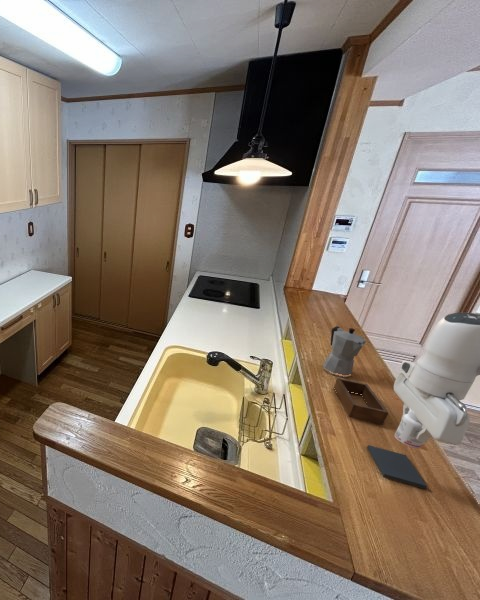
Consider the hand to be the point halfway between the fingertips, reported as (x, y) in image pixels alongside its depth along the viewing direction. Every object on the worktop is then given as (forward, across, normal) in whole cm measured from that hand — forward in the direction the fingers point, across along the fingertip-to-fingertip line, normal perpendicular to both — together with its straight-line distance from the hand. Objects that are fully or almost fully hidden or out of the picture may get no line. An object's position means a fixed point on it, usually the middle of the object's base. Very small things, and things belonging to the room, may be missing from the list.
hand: (412, 431), depth 77 cm
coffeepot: (+12, +49, 0) cm, 51 cm away
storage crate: (+11, +26, 0) cm, 28 cm away
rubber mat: (+11, 0, 0) cm, 11 cm away
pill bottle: (+3, 0, 0) cm, 3 cm away
